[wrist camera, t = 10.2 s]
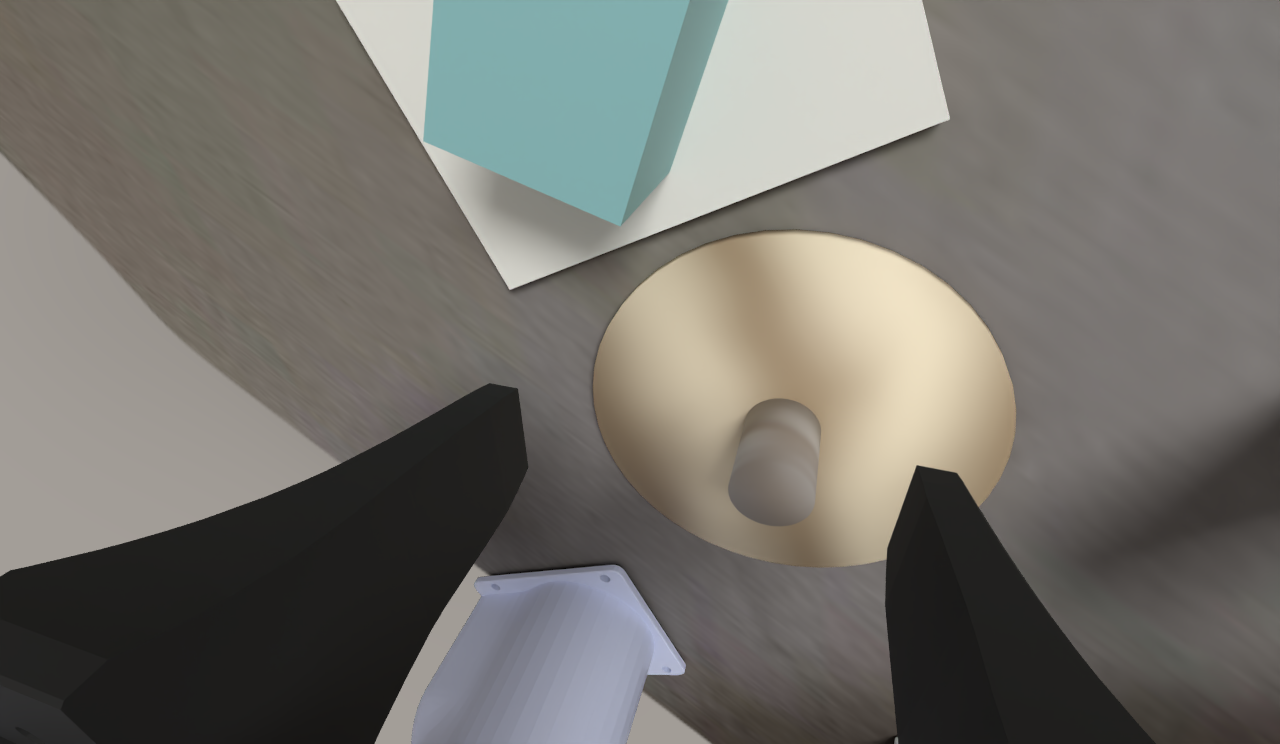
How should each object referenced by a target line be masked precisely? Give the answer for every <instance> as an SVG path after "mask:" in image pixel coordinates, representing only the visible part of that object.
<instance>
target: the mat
mask: <svg viewBox="0 0 1280 744" xmlns="http://www.w3.org/2000/svg"><path fill="white" fill-rule="evenodd" d="M336 1H337V3H338V4H339V6H340V8H341V9H342V11H343V13H344V14H345V16H346V18H347V19H348V21H349V23H350V24H351V26H352V28H353V29H354V31H355V33H356V34H357V36H358V38H359V39H360V41H361V43H362V44H363V46H364V48H365V49H366V51H367V53H368V54H369V56H370V58H371V59H372V61H373V63H374V64H375V66H376V68H377V69H378V71H379V73H380V74H381V76H382V78H383V79H384V81H385V83H386V84H387V86H388V88H389V89H390V91H391V93H392V94H393V96H394V98H395V99H396V101H397V103H398V104H399V106H400V108H401V109H402V111H403V113H404V114H405V116H406V118H407V119H408V121H409V123H410V124H411V126H412V128H413V129H414V131H415V133H416V134H417V136H418V138H419V139H420V141H421V143H422V144H423V146H424V148H425V149H426V151H427V153H428V154H429V156H430V158H431V159H432V161H433V163H434V164H435V166H436V168H437V169H438V171H439V173H440V174H441V176H442V178H443V179H444V181H445V183H446V184H447V186H448V188H449V189H450V191H451V193H452V194H453V196H454V198H455V199H456V201H457V203H458V204H459V206H460V208H461V209H462V211H463V213H464V214H465V216H466V218H467V219H468V221H469V223H470V224H471V226H472V228H473V229H474V231H475V233H476V234H477V236H478V238H479V239H480V241H481V243H482V244H483V246H484V248H485V249H486V251H487V253H488V254H489V256H490V258H491V259H492V261H493V263H494V264H495V266H496V268H497V269H498V271H499V273H500V274H501V276H502V278H503V279H504V281H505V283H506V284H507V286H508V288H509V289H510V290H511V289H513V288H516V287H518V286H521V285H524V284H526V283H529V282H531V281H534V280H537V279H539V278H542V277H544V276H547V275H549V274H552V273H555V272H557V271H560V270H562V269H565V268H567V267H570V266H573V265H575V264H578V263H580V262H583V261H586V260H588V259H591V258H593V257H596V256H598V255H601V254H604V253H606V252H609V251H611V250H614V249H616V248H619V247H622V246H624V245H627V244H629V243H632V242H635V241H637V240H640V239H642V238H645V237H647V236H650V235H653V234H655V233H658V232H660V231H663V230H665V229H668V228H671V227H673V226H676V225H678V224H681V223H684V222H686V221H689V220H691V219H694V218H696V217H699V216H702V215H704V214H707V213H709V212H712V211H714V210H717V209H720V208H722V207H725V206H727V205H730V204H733V203H735V202H738V201H740V200H743V199H745V198H748V197H751V196H753V195H756V194H758V193H761V192H763V191H766V190H769V189H771V188H774V187H776V186H779V185H782V184H784V183H787V182H789V181H792V180H794V179H797V178H800V177H802V176H805V175H807V174H810V173H812V172H815V171H818V170H820V169H823V168H825V167H828V166H831V165H833V164H836V163H838V162H841V161H843V160H846V159H849V158H851V157H854V156H856V155H859V154H861V153H864V152H867V151H869V150H872V149H874V148H877V147H880V146H882V145H885V144H887V143H890V142H892V141H895V140H898V139H900V138H903V137H905V136H908V135H910V134H913V133H916V132H918V131H921V130H923V129H926V128H929V127H931V126H934V125H936V124H939V123H941V122H944V121H947V120H949V119H950V117H949V113H948V109H947V104H946V100H945V96H944V92H943V88H942V83H941V79H940V75H939V71H938V66H937V62H936V58H935V54H934V49H933V45H932V41H931V37H930V33H929V28H928V24H927V20H926V16H925V11H924V7H923V3H922V0H728V3H727V6H726V9H725V12H724V15H723V18H722V21H721V23H720V26H719V29H718V32H717V35H716V38H715V41H714V44H713V47H712V50H711V53H710V56H709V59H708V62H707V64H706V67H705V70H704V73H703V76H702V79H701V82H700V85H699V88H698V91H697V94H696V97H695V100H694V103H693V105H692V108H691V111H690V114H689V117H688V120H687V123H686V126H685V129H684V132H683V135H682V138H681V141H680V143H679V146H678V149H677V152H676V155H675V158H674V161H673V164H672V167H671V170H670V172H669V174H668V175H667V176H666V177H665V178H664V179H663V180H662V181H661V182H660V184H659V185H658V186H657V187H656V188H655V189H654V190H653V191H652V192H651V193H650V195H649V196H648V197H647V198H646V199H645V200H644V201H643V202H642V203H641V204H640V206H639V207H638V208H637V209H636V210H635V211H634V212H633V213H632V214H631V216H630V217H629V218H628V219H627V220H626V221H625V222H624V223H623V224H622V225H621V227H620V226H618V225H615V224H613V223H611V222H609V221H606V220H604V219H602V218H599V217H597V216H595V215H592V214H590V213H588V212H585V211H583V210H581V209H579V208H576V207H574V206H572V205H569V204H567V203H565V202H562V201H560V200H558V199H555V198H553V197H551V196H548V195H546V194H544V193H542V192H539V191H537V190H535V189H532V188H530V187H528V186H525V185H523V184H521V183H518V182H516V181H514V180H512V179H509V178H507V177H505V176H502V175H500V174H498V173H495V172H493V171H491V170H488V169H486V168H484V167H481V166H479V165H477V164H475V163H472V162H470V161H468V160H465V159H463V158H461V157H458V156H456V155H454V154H451V153H449V152H447V151H445V150H442V149H440V148H438V147H435V146H433V145H431V144H428V143H426V142H424V141H423V137H424V124H425V110H426V96H427V83H428V69H429V55H430V42H431V28H432V14H433V1H434V0H336Z"/></svg>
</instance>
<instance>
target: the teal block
mask: <svg viewBox="0 0 1280 744" xmlns="http://www.w3.org/2000/svg"><path fill="white" fill-rule="evenodd" d="M727 3H728V0H434V1H433V14H432V28H431V42H430V55H429V69H428V83H427V96H426V110H425V124H424V137H423V141H424V142H426V143H428V144H431V145H433V146H435V147H438V148H440V149H442V150H445V151H447V152H449V153H451V154H454V155H456V156H458V157H461V158H463V159H465V160H468V161H470V162H472V163H475V164H477V165H479V166H481V167H484V168H486V169H488V170H491V171H493V172H495V173H498V174H500V175H502V176H505V177H507V178H509V179H512V180H514V181H516V182H518V183H521V184H523V185H525V186H528V187H530V188H532V189H535V190H537V191H539V192H542V193H544V194H546V195H548V196H551V197H553V198H555V199H558V200H560V201H562V202H565V203H567V204H569V205H572V206H574V207H576V208H579V209H581V210H583V211H585V212H588V213H590V214H592V215H595V216H597V217H599V218H602V219H604V220H606V221H609V222H611V223H613V224H615V225H618V226H620V227H621V225H622V224H623V223H624V222H625V221H626V220H627V219H628V218H629V217H630V216H631V214H632V213H633V212H634V211H635V210H636V209H637V208H638V207H639V206H640V204H641V203H642V202H643V201H644V200H645V199H646V198H647V197H648V196H649V195H650V193H651V192H652V191H653V190H654V189H655V188H656V187H657V186H658V185H659V184H660V182H661V181H662V180H663V179H664V178H665V177H666V176H667V175H668V174H669V172H670V170H671V167H672V164H673V161H674V158H675V155H676V152H677V149H678V146H679V143H680V141H681V138H682V135H683V132H684V129H685V126H686V123H687V120H688V117H689V114H690V111H691V108H692V105H693V103H694V100H695V97H696V94H697V91H698V88H699V85H700V82H701V79H702V76H703V73H704V70H705V67H706V64H707V62H708V59H709V56H710V53H711V50H712V47H713V44H714V41H715V38H716V35H717V32H718V29H719V26H720V23H721V21H722V18H723V15H724V12H725V9H726V6H727Z"/></svg>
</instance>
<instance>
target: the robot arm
mask: <svg viewBox="0 0 1280 744" xmlns="http://www.w3.org/2000/svg"><path fill="white" fill-rule="evenodd" d="M527 469H528V461H527V454H526V446H525V439H524V431H523V424H522V417H521V409H520V402H519V394H518V389H517V388H512V387H506V386H501V385H496V384H491V383H489V384H487V385H485V386H483V387H481V388H479V389H477V390H475V391H473V392H472V393H470V394H468V395H466V396H464V397H463V398H461V399H459V400H457V401H455V402H454V403H452V404H450V405H449V406H447V407H445V408H443V409H442V410H440V411H438V412H436V413H435V414H433V415H431V416H429V417H428V418H426V419H424V420H422V421H420V422H419V423H417V424H415V425H413V426H411V427H410V428H408V429H406V430H404V431H403V432H401V433H399V434H397V435H395V436H394V437H392V438H390V439H388V440H386V441H384V442H382V443H380V444H378V445H376V446H374V447H372V448H371V449H369V450H367V451H365V452H363V453H361V454H359V455H357V456H355V457H353V458H351V459H349V460H347V461H345V462H343V463H341V464H339V465H337V466H335V467H333V468H331V469H329V470H327V471H325V472H323V473H320V474H318V475H316V476H314V477H311V478H309V479H307V480H305V481H302V482H300V483H298V484H295V485H293V486H290V487H288V488H286V489H283V490H281V491H279V492H276V493H274V494H271V495H269V496H266V497H264V498H261V499H258V500H255V501H252V502H250V503H247V504H244V505H242V506H239V507H236V508H233V509H230V510H228V511H225V512H222V513H220V514H216V515H214V516H211V517H208V518H205V519H203V520H199V521H196V522H194V523H190V524H187V525H184V526H181V527H177V528H174V529H171V530H168V531H165V532H162V533H158V534H154V535H151V536H147V537H144V538H140V539H137V540H133V541H130V542H126V543H123V544H119V545H115V546H111V547H108V548H104V549H101V550H96V551H92V552H88V553H83V554H79V555H75V556H71V557H67V558H63V559H59V560H54V561H50V562H46V563H41V564H37V565H33V566H29V567H24V568H19V569H15V570H10V571H9V572H7V573H5V574H4V575H2V576H1V577H0V744H374V743H375V741H376V739H377V736H378V734H379V732H380V730H381V728H382V726H383V724H384V722H385V720H386V718H387V716H388V714H389V712H390V710H391V708H392V706H393V704H394V702H395V700H396V698H397V696H398V694H399V691H400V690H401V688H402V686H403V684H404V681H405V679H406V677H407V675H408V674H409V672H410V670H411V668H412V666H413V664H414V662H415V660H416V658H417V656H418V655H419V653H420V651H421V649H422V647H423V645H424V643H425V641H426V639H427V637H428V635H429V634H430V632H431V630H432V628H433V626H434V625H435V623H436V621H437V620H438V618H439V616H440V615H441V613H442V611H443V610H444V608H445V606H446V605H447V603H448V602H449V600H450V599H451V597H452V596H453V594H454V593H455V591H456V590H457V588H458V587H459V585H460V584H461V582H462V581H463V579H464V578H465V576H466V575H467V573H468V572H469V570H470V569H471V567H472V566H473V564H474V563H475V561H476V559H477V558H478V556H479V555H480V553H481V552H482V550H483V549H484V547H485V546H486V544H487V543H488V541H489V540H490V538H491V537H492V535H493V533H494V532H495V530H496V529H497V527H498V526H499V524H500V523H501V521H502V519H503V518H504V516H505V515H506V513H507V511H508V509H509V507H510V505H511V503H512V501H513V499H514V497H515V495H516V493H517V491H518V489H519V487H520V485H521V483H522V480H523V478H524V476H525V474H526V472H527ZM474 587H475V588H476V590H477V591H478V592H479V593H480V595H481V598H480V600H479V601H478V603H477V605H476V606H475V608H474V610H473V611H472V613H471V615H470V616H469V618H468V620H467V621H466V623H465V625H464V627H463V628H462V630H461V631H460V633H459V635H458V637H457V638H456V640H455V641H454V643H453V645H452V646H451V648H450V650H449V651H448V653H447V655H446V656H445V658H444V660H443V661H442V663H441V665H440V667H439V668H438V670H437V672H436V673H435V675H434V676H433V678H432V680H431V682H430V683H429V685H428V686H427V688H426V690H425V692H424V694H423V696H422V698H421V700H420V703H419V706H418V708H417V712H416V716H415V719H414V724H413V730H412V741H411V744H626V743H627V740H628V736H629V733H630V730H631V726H632V723H633V719H634V716H635V713H636V710H637V706H638V703H639V700H640V696H641V693H642V690H643V687H644V683H645V680H646V677H647V675H681V674H683V673H684V671H685V667H686V664H685V662H684V661H683V659H682V658H681V656H680V655H679V653H678V652H677V650H676V649H675V647H674V646H673V644H672V643H671V641H670V639H669V638H668V636H667V635H666V633H665V632H664V630H663V629H662V627H661V626H660V624H659V623H658V621H657V620H656V618H655V616H654V615H653V613H652V612H651V610H650V609H649V607H648V606H647V604H646V603H645V601H644V600H643V598H642V596H641V595H640V593H639V592H638V590H637V589H636V587H635V586H634V584H633V583H632V581H631V580H630V578H629V577H628V575H627V573H626V572H625V570H624V569H623V568H621V567H620V566H617V565H603V566H593V567H582V568H571V569H560V570H549V571H539V572H528V573H517V574H506V575H495V576H484V577H479V578H477V580H476V582H475V583H474ZM885 607H886V619H887V630H888V641H889V652H890V662H891V673H892V683H893V693H894V704H895V714H896V724H897V735H898V744H1156V743H1155V742H1154V741H1153V740H1152V739H1151V738H1150V737H1149V736H1148V735H1147V733H1146V732H1145V731H1144V730H1143V729H1142V728H1141V727H1140V726H1139V724H1138V723H1137V722H1136V721H1135V720H1134V719H1133V717H1132V716H1131V715H1130V714H1129V713H1128V712H1127V710H1126V709H1125V708H1124V707H1123V706H1122V705H1121V703H1120V702H1119V701H1118V700H1117V699H1116V698H1115V696H1114V695H1113V694H1112V693H1111V692H1110V691H1109V690H1108V688H1107V687H1106V686H1105V685H1104V684H1103V683H1102V681H1101V680H1100V679H1099V678H1098V677H1097V675H1096V674H1095V673H1094V672H1093V670H1092V669H1091V668H1090V667H1089V665H1088V664H1087V663H1086V662H1085V660H1084V659H1083V658H1082V657H1081V655H1080V654H1079V653H1078V651H1077V650H1076V649H1075V647H1074V646H1073V645H1072V644H1071V642H1070V641H1069V640H1068V638H1067V637H1066V636H1065V634H1064V633H1063V632H1062V630H1061V629H1060V628H1059V626H1058V625H1057V624H1056V622H1055V621H1054V620H1053V618H1052V617H1051V616H1050V614H1049V613H1048V611H1047V610H1046V609H1045V607H1044V606H1043V604H1042V603H1041V602H1040V600H1039V599H1038V597H1037V596H1036V595H1035V593H1034V592H1033V590H1032V589H1031V587H1030V586H1029V584H1028V583H1027V581H1026V580H1025V578H1024V577H1023V575H1022V574H1021V573H1020V571H1019V570H1018V568H1017V567H1016V565H1015V564H1014V562H1013V561H1012V559H1011V558H1010V556H1009V555H1008V553H1007V552H1006V550H1005V549H1004V547H1003V545H1002V544H1001V542H1000V541H999V539H998V538H997V536H996V534H995V533H994V531H993V530H992V528H991V526H990V525H989V523H988V522H987V520H986V518H985V517H984V515H983V514H982V512H981V510H980V509H979V507H978V505H977V504H976V502H975V500H974V499H973V497H972V495H971V494H970V492H969V490H968V489H967V487H966V485H965V484H964V482H963V481H962V479H961V478H960V476H959V475H958V473H955V472H950V471H945V470H940V469H935V468H929V467H924V466H919V465H917V466H916V468H915V471H914V474H913V477H912V480H911V482H910V485H909V488H908V491H907V494H906V497H905V499H904V502H903V505H902V508H901V511H900V513H899V516H898V519H897V522H896V525H895V527H894V530H893V533H892V536H891V539H890V541H889V544H888V547H887V564H886V598H885Z"/></svg>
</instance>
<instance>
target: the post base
mask: <svg viewBox="0 0 1280 744" xmlns="http://www.w3.org/2000/svg"><path fill="white" fill-rule="evenodd" d="M593 396H594V407H595V412H596V416H597V421H598V425H599V428H600V431H601V433H602V436H603V439H604V442H605V444H606V446H607V448H608V450H609V452H610V454H611V456H612V458H613V459H614V461H615V463H616V464H617V466H618V467H619V469H620V470H621V472H622V473H623V474H624V476H625V477H626V479H627V480H628V481H629V482H630V483H631V484H632V486H633V487H634V488H635V489H636V490H637V491H638V493H639V494H640V495H641V496H643V497H644V498H645V499H646V500H647V501H648V502H649V503H650V504H651V505H652V506H653V507H654V508H655V509H657V510H658V511H659V512H661V513H662V514H663V515H664V516H666V517H667V518H668V519H670V520H671V521H672V522H674V523H676V524H677V525H679V526H680V527H682V528H683V529H685V530H687V531H688V532H690V533H692V534H694V535H696V536H697V537H699V538H701V539H703V540H705V541H707V542H709V543H712V544H714V545H716V546H719V547H721V548H724V549H726V550H728V551H731V552H735V553H738V554H741V555H744V556H747V557H750V558H754V559H759V560H763V561H767V562H772V563H778V564H785V565H792V566H803V567H845V566H853V565H861V564H868V563H873V562H877V561H882V560H886V559H887V547H888V544H889V541H890V539H891V536H892V533H893V530H894V527H895V525H896V522H897V519H898V516H899V513H900V511H901V508H902V505H903V502H904V499H905V497H906V494H907V491H908V488H909V485H910V482H911V480H912V477H913V474H914V471H915V468H916V466H917V465H919V466H924V467H929V468H935V469H940V470H945V471H950V472H955V473H958V475H959V476H960V478H961V479H962V481H963V482H964V484H965V485H966V487H967V489H968V490H969V492H970V494H971V495H972V497H973V499H974V500H975V502H976V504H977V505H978V507H979V506H980V505H981V504H982V503H983V502H984V501H985V500H986V498H987V497H988V496H989V494H990V493H991V491H992V490H993V488H994V487H995V485H996V484H997V482H998V481H999V479H1000V477H1001V475H1002V473H1003V471H1004V468H1005V466H1006V464H1007V462H1008V459H1009V457H1010V453H1011V449H1012V445H1013V441H1014V436H1015V424H1016V405H1015V398H1014V391H1013V385H1012V382H1011V379H1010V376H1009V373H1008V370H1007V367H1006V364H1005V361H1004V358H1003V355H1002V352H1001V350H1000V348H999V347H998V345H997V343H996V341H995V339H994V337H993V336H992V334H991V332H990V330H989V328H988V327H987V325H986V324H985V323H984V322H983V320H982V319H981V318H980V316H979V315H978V314H977V313H976V311H975V310H974V309H973V307H972V306H971V305H970V304H969V303H968V302H967V301H966V300H965V299H964V298H963V297H962V296H961V295H960V294H958V293H957V292H956V291H955V290H954V289H953V288H952V287H951V286H950V285H949V284H948V283H946V282H945V281H943V280H942V279H941V278H939V277H938V276H936V275H935V274H933V273H932V272H931V271H929V270H928V269H926V268H925V267H923V266H922V265H920V264H918V263H916V262H914V261H912V260H910V259H908V258H906V257H904V256H902V255H900V254H898V253H896V252H894V251H892V250H889V249H887V248H884V247H881V246H878V245H875V244H873V243H870V242H867V241H864V240H861V239H857V238H852V237H847V236H843V235H838V234H834V233H829V232H818V231H808V230H797V229H796V230H764V231H758V232H752V233H745V234H739V235H733V236H730V237H726V238H723V239H719V240H716V241H713V242H709V243H706V244H704V245H701V246H699V247H697V248H695V249H692V250H690V251H688V252H685V253H683V254H681V255H679V256H678V257H676V258H674V259H673V260H671V261H670V262H668V263H666V264H665V265H663V266H661V267H660V268H658V269H657V270H656V271H655V272H654V273H652V274H651V275H650V276H649V277H648V278H646V279H645V280H644V281H643V282H642V283H640V284H639V285H638V287H637V288H636V289H635V290H634V291H633V292H632V293H631V295H630V296H629V297H628V298H627V299H626V300H625V301H624V303H623V304H622V306H621V307H620V308H619V310H618V312H617V313H616V315H615V316H614V318H613V319H612V321H611V323H610V324H609V326H608V328H607V330H606V332H605V335H604V337H603V339H602V342H601V344H600V346H599V350H598V354H597V358H596V362H595V366H594V378H593Z"/></svg>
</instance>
